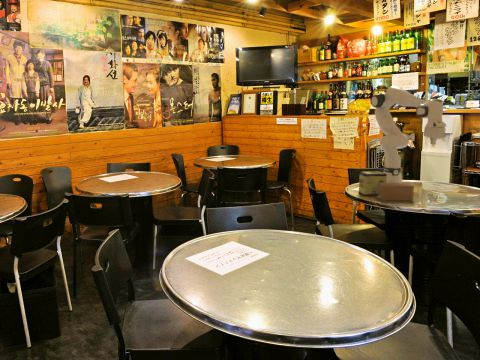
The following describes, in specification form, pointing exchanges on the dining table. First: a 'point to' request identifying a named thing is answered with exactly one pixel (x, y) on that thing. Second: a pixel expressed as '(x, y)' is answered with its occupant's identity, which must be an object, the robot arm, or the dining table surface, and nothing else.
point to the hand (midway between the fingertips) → (432, 144)
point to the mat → (393, 201)
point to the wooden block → (396, 191)
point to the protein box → (370, 182)
